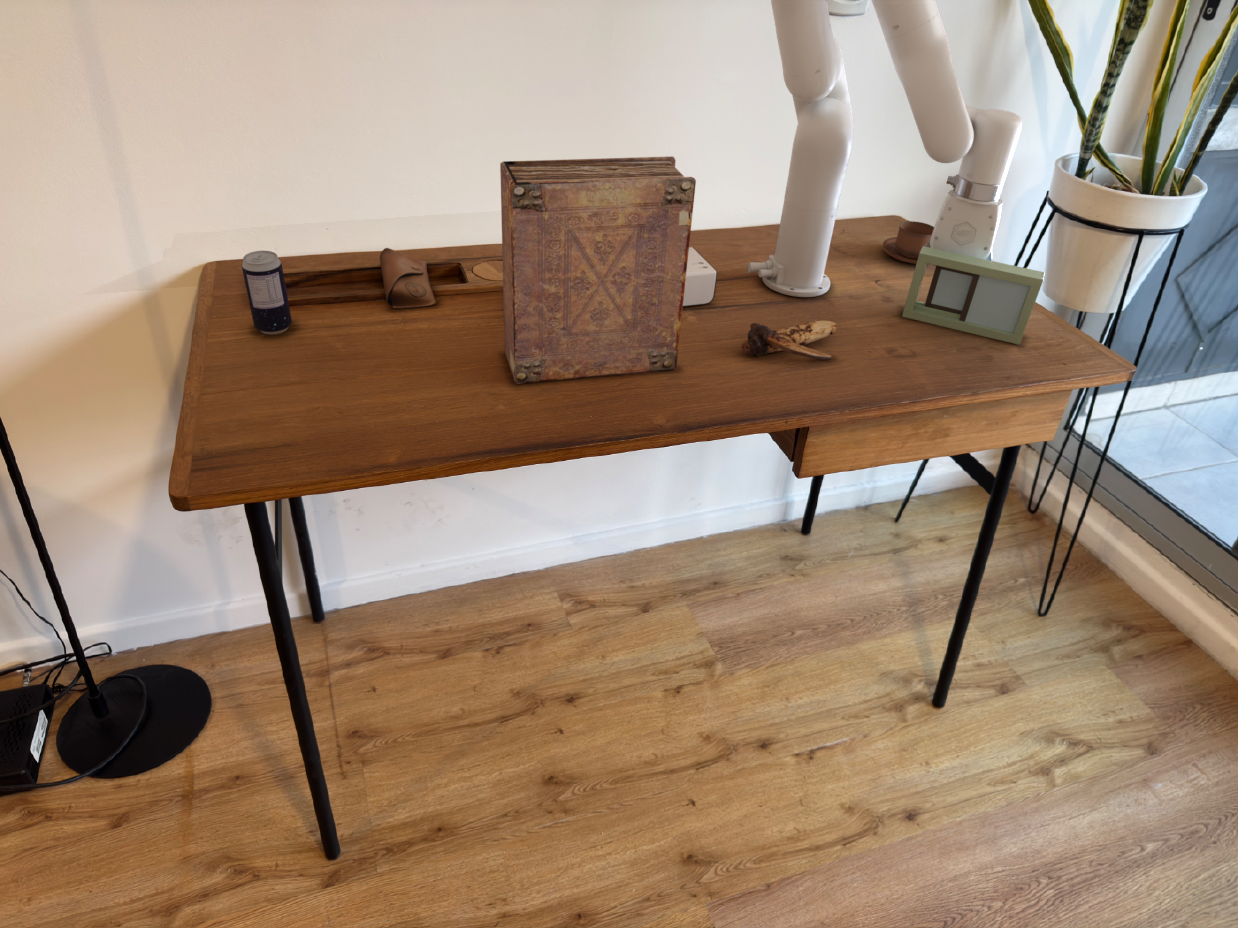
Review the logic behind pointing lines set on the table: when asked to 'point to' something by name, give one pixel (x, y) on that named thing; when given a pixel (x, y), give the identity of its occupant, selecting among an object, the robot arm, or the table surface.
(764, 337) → the bone fish hook
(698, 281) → the laminator
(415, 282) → the sunglasses case
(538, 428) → the table surface
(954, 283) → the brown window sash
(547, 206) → the book
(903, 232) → the cup and saucer
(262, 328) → the beverage can
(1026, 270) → the window frame
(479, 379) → the table surface
